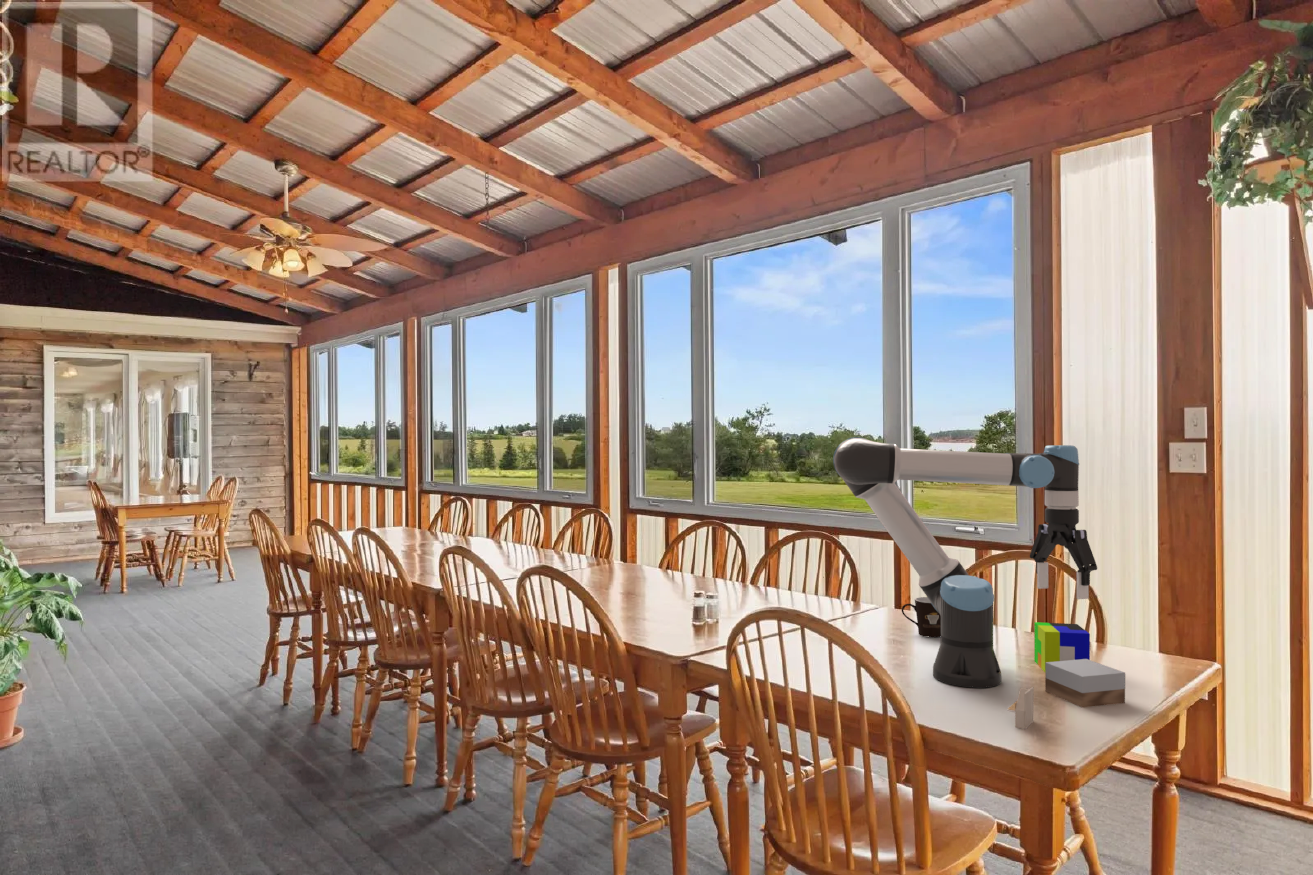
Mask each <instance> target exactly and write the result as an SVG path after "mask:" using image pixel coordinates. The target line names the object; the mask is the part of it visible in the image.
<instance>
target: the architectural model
mask: <svg viewBox="0 0 1313 875" xmlns="http://www.w3.org/2000/svg"><path fill="white" fill-rule="evenodd" d="M1034 690H1035V689H1034V686H1031V687H1030V688H1025V687H1020V688H1019V692H1018V697H1017V700H1016V701H1015V702H1014V703H1012V704H1010V706H1009V707H1008V708H1007V712H1011V713H1014V714H1015V716H1014V719H1015V720H1014V724H1015V725H1014V727H1015V728H1017V729H1022V730H1026V729H1027V728H1028V727H1030V725H1031V724H1032V723H1033V722H1034Z"/></svg>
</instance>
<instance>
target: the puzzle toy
mask: <svg viewBox="0 0 1313 875" xmlns="http://www.w3.org/2000/svg"><path fill="white" fill-rule="evenodd" d="M1033 633H1034V638H1033V639H1034V641H1033V642H1034V656H1033V657H1034V658H1033V659H1034V663H1036V665H1037V666H1038V667H1039V668H1040V669H1041V670H1042V671H1043V673H1045V674H1046V662H1056V661H1068V660H1079V659H1088V660H1091V648H1090V647H1091V646H1090V645H1091V639H1090V637H1091V634H1090V633H1089V632H1088V631H1087V630H1086V629H1084V628H1083V627H1082V626H1080V625H1079V624H1077V623H1061V622H1057V623H1056V622H1037V621H1035V622H1034V632H1033Z"/></svg>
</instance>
